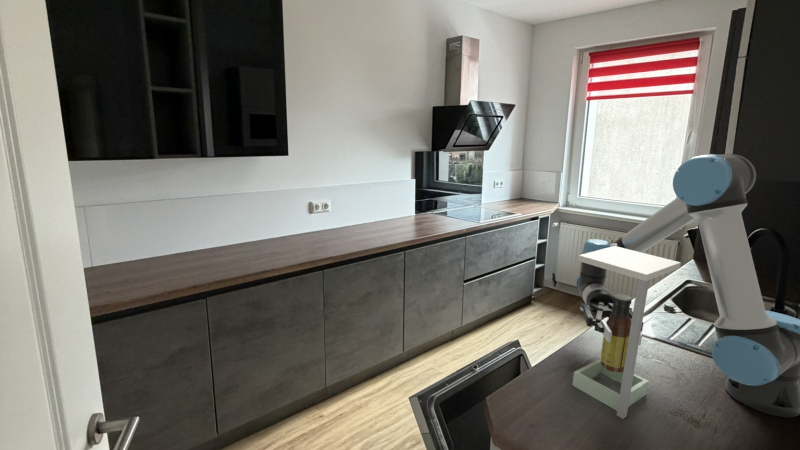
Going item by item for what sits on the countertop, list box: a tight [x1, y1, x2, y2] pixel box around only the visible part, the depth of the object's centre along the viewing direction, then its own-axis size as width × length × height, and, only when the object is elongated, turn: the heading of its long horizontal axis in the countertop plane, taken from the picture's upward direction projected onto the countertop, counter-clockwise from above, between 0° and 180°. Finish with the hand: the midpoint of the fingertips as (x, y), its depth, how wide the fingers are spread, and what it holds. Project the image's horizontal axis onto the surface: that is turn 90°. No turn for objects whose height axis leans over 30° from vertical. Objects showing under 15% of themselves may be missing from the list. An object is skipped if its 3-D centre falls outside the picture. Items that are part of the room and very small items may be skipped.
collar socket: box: [571, 357, 650, 412], centre depth 110 cm, size 13×13×4 cm
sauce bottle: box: [600, 293, 633, 373], centre depth 107 cm, size 6×6×20 cm
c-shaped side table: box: [577, 246, 682, 420], centre depth 106 cm, size 16×16×36 cm
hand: (624, 338), depth 101 cm, fingers closed on sauce bottle, 6 cm apart
